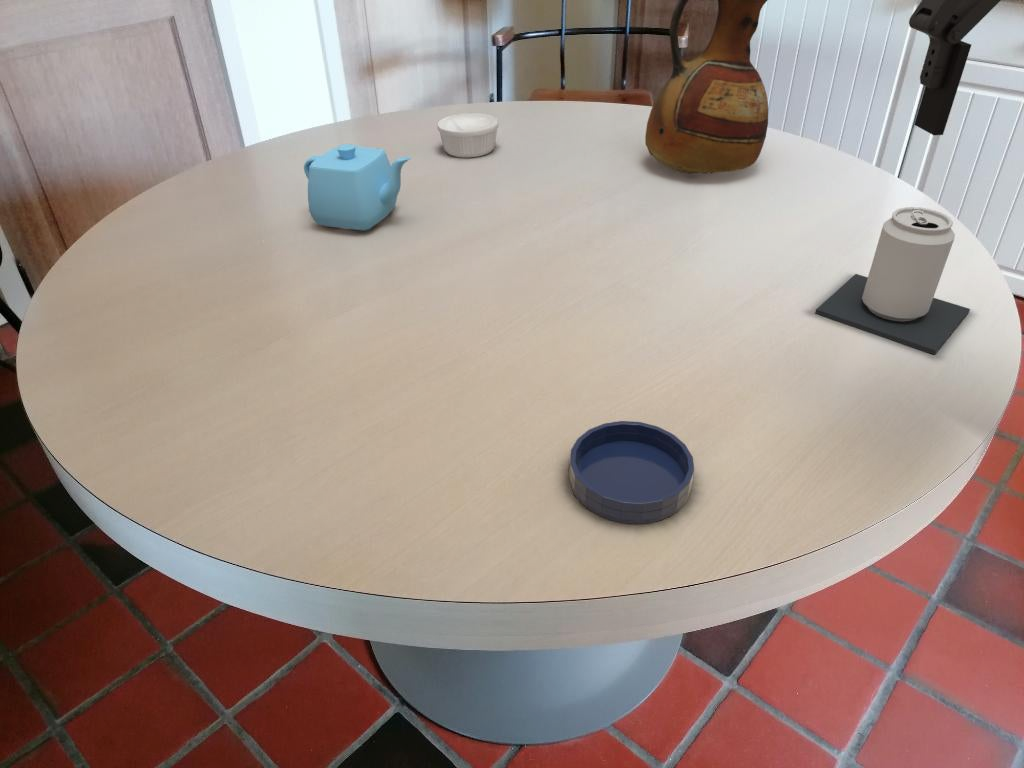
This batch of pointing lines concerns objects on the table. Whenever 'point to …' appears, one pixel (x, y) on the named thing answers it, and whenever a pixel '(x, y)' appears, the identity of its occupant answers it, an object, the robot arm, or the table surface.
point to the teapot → (352, 186)
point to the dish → (631, 472)
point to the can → (908, 263)
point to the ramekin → (468, 134)
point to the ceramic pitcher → (712, 98)
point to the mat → (915, 333)
